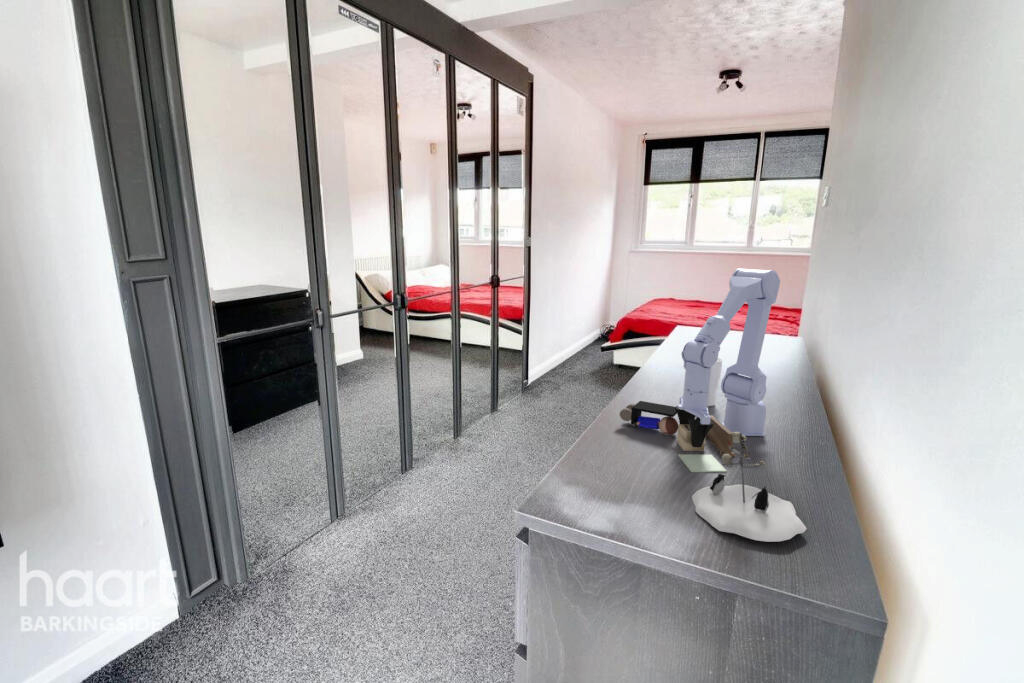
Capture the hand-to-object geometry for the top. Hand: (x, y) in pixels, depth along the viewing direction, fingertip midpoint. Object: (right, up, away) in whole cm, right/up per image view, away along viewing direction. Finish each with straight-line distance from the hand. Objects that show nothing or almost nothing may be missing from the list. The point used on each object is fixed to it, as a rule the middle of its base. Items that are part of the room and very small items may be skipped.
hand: (690, 440), depth 118 cm
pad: (-1, -4, -9) cm, 10 cm away
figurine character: (-8, +1, +10) cm, 13 cm away
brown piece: (+7, -2, 0) cm, 7 cm away
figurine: (-1, -9, -29) cm, 30 cm away
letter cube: (0, -2, 0) cm, 2 cm away
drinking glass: (+17, +5, +31) cm, 35 cm away
